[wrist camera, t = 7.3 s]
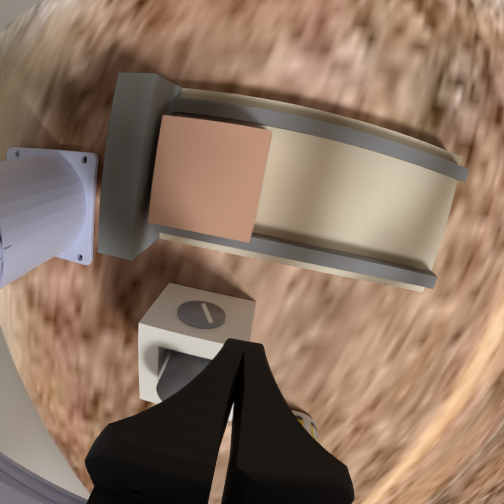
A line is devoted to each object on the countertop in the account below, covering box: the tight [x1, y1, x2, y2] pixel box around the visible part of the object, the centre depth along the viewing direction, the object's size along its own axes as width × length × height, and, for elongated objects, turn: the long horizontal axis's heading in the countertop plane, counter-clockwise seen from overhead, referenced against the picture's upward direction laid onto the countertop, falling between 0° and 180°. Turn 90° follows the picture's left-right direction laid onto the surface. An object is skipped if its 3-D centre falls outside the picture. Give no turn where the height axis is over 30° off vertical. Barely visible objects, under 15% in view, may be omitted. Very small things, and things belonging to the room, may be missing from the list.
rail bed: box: [98, 73, 468, 292], centre depth 16 cm, size 19×9×6 cm, turn 79°
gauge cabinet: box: [138, 283, 256, 422], centre depth 20 cm, size 6×6×6 cm
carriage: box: [148, 115, 272, 243], centre depth 16 cm, size 5×5×3 cm
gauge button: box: [156, 350, 212, 401], centre depth 18 cm, size 3×3×5 cm
